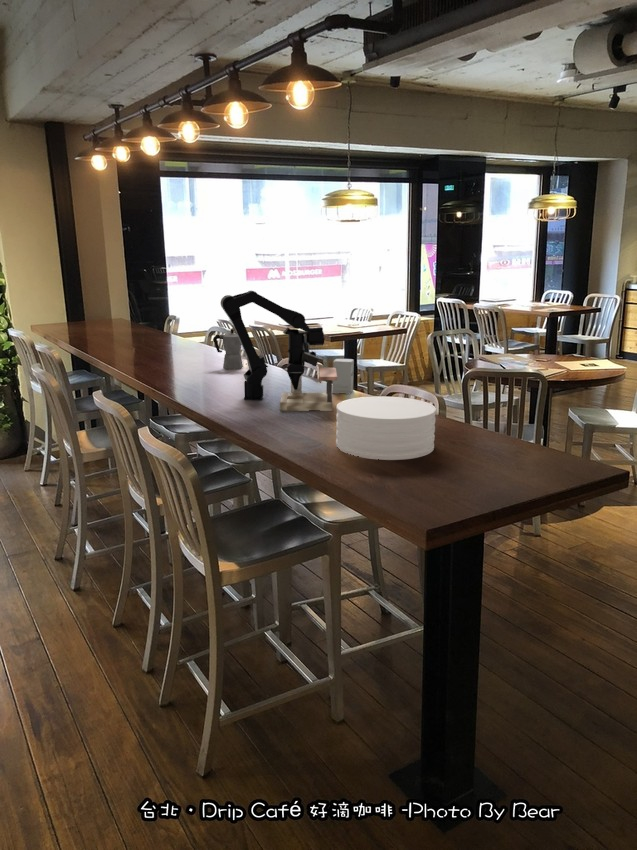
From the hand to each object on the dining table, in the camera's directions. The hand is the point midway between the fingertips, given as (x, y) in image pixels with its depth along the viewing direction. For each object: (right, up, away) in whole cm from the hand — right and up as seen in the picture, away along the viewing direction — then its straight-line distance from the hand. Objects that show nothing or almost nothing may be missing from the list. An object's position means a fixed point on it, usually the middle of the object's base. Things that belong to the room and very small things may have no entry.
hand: (296, 387), depth 257 cm
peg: (0, -3, +1) cm, 4 cm away
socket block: (+4, -7, -15) cm, 17 cm away
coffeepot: (-32, +12, +59) cm, 68 cm away
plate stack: (+28, -20, -62) cm, 70 cm away
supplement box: (+18, -2, +9) cm, 20 cm away
